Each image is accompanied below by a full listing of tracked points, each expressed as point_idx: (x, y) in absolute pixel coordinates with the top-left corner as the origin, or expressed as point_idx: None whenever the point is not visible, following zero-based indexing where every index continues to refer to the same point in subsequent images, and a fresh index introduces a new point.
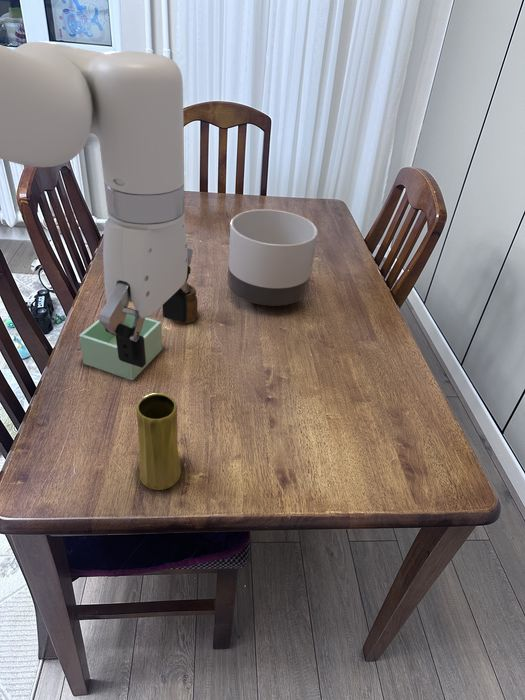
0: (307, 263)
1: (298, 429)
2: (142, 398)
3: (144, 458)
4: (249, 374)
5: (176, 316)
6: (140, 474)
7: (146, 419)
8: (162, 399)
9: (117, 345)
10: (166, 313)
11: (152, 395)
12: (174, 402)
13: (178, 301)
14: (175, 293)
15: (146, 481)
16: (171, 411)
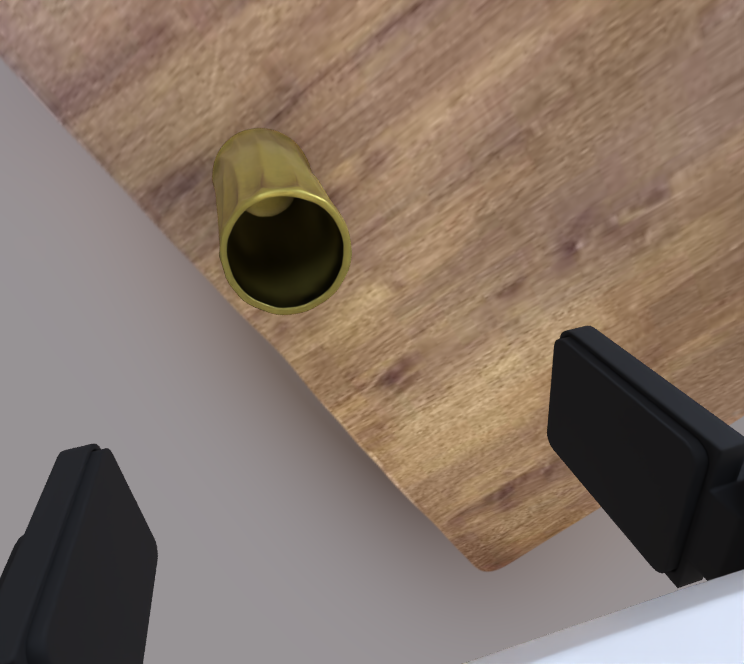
0: None
1: (514, 337)
2: (286, 192)
3: (219, 194)
4: (635, 163)
5: (567, 425)
6: (225, 148)
7: (222, 265)
8: (337, 227)
9: (25, 539)
10: (573, 372)
11: (321, 206)
12: (334, 287)
13: (640, 520)
14: (695, 541)
15: (214, 182)
16: (330, 250)
